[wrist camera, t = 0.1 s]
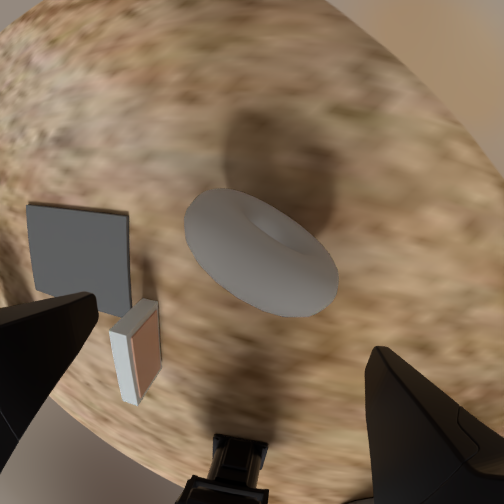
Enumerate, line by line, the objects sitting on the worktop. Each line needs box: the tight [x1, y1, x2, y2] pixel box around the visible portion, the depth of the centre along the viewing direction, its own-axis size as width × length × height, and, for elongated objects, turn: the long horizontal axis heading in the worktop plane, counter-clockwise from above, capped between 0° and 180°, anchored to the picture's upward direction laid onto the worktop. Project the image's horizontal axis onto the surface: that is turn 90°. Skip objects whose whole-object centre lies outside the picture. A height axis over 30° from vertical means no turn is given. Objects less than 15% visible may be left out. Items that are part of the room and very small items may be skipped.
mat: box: [26, 205, 132, 318], centre depth 26 cm, size 10×14×1 cm
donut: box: [184, 188, 339, 317], centre depth 18 cm, size 10×4×10 cm, turn 59°
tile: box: [109, 298, 162, 406], centre depth 25 cm, size 8×2×6 cm, turn 174°
